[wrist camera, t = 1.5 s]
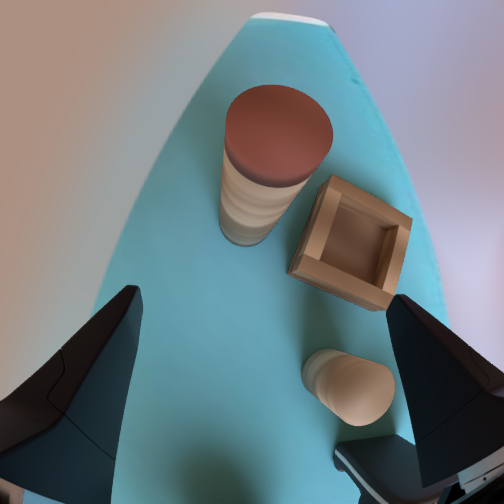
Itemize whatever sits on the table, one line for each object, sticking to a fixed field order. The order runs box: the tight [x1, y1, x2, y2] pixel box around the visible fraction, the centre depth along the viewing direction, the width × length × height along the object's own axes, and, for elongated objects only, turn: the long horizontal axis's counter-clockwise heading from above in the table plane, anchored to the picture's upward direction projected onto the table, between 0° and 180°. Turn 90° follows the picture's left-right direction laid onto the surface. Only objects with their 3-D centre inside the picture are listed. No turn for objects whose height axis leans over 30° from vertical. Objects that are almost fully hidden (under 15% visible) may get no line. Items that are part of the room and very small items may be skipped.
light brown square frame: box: [287, 174, 413, 311], centre depth 22 cm, size 8×8×3 cm
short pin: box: [302, 348, 395, 426], centre depth 18 cm, size 4×4×7 cm
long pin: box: [219, 85, 333, 247], centre depth 16 cm, size 4×4×13 cm
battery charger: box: [334, 435, 458, 504], centre depth 15 cm, size 7×4×11 cm, turn 83°
